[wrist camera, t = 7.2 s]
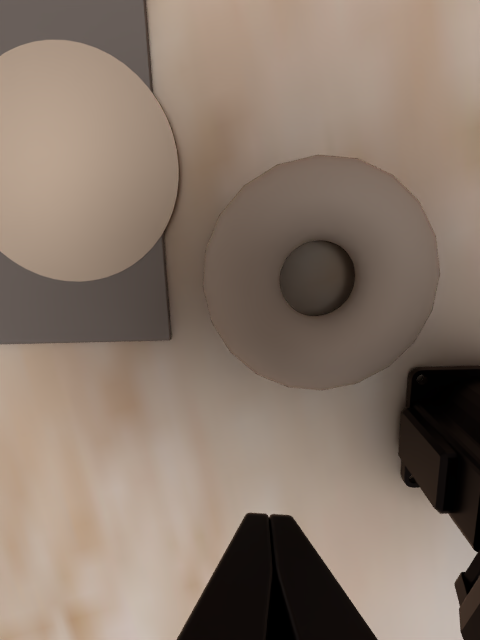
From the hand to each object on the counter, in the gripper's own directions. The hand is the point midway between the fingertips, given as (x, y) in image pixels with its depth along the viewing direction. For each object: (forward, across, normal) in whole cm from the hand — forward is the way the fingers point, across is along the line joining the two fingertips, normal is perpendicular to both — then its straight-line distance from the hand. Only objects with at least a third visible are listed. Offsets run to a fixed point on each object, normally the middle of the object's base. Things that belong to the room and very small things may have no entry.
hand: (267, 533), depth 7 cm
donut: (+10, +1, -8) cm, 13 cm away
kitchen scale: (+12, +12, -8) cm, 19 cm away
